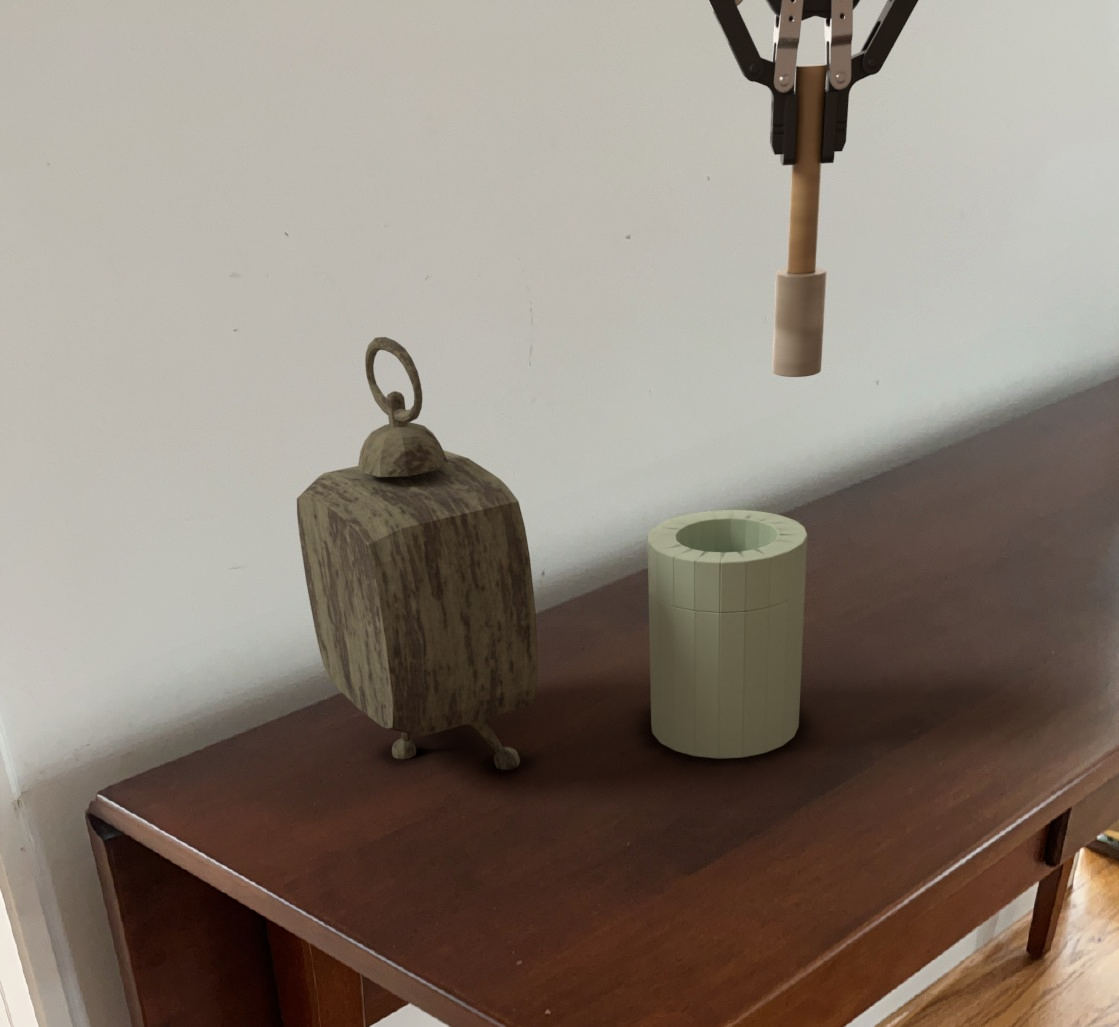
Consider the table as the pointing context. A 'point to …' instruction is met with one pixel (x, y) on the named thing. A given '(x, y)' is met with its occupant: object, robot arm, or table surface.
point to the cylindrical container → (726, 631)
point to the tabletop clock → (420, 581)
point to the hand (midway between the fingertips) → (806, 161)
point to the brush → (803, 240)
